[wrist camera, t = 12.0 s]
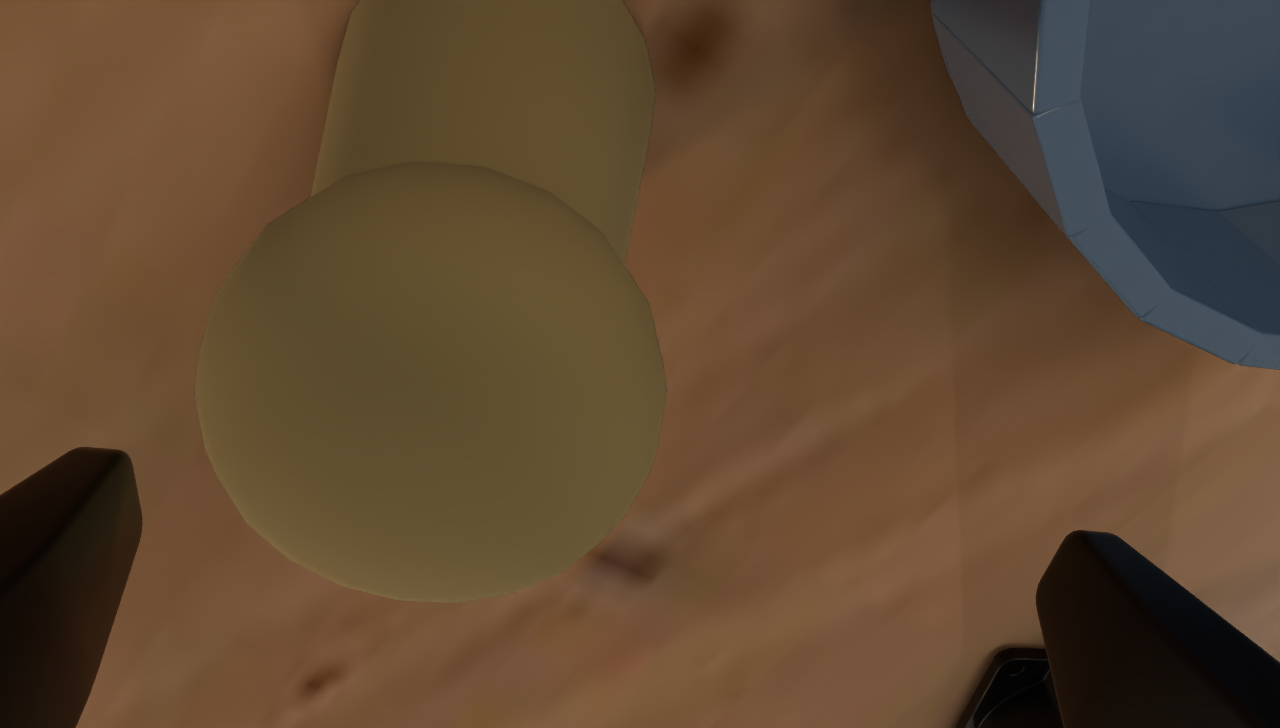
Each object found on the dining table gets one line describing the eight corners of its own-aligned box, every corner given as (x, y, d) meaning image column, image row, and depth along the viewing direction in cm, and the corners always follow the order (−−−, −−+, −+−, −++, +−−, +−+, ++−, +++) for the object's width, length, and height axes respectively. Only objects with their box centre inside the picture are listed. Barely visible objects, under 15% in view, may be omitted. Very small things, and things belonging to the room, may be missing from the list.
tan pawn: (583, -126, 17) (580, 124, 8) (697, 179, 20) (786, 597, 11) (273, 8, 18) (-46, 364, 9) (432, 276, 21) (318, 730, 12)
